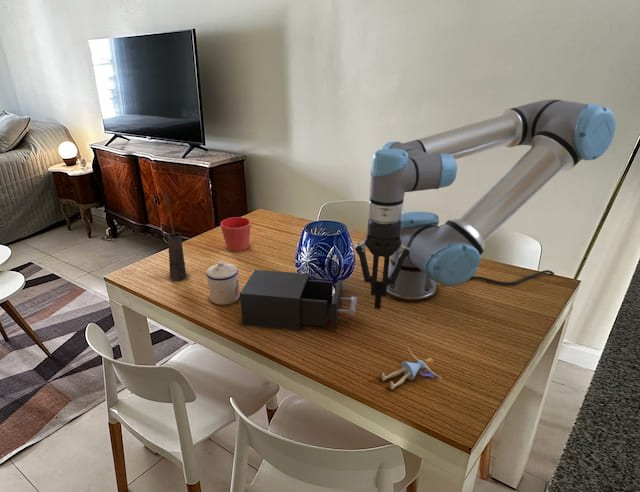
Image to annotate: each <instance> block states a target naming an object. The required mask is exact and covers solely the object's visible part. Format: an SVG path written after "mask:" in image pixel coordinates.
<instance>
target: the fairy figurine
mask: <svg viewBox="0 0 640 492" xmlns="http://www.w3.org/2000/svg"><path fill="white" fill-rule="evenodd" d="M407 351H408V352H409V354H410V355H411V356H412V357H413V358H414V359H415V361H416V362H411V361H405V360H403V361H401V362H400V369H398V370H395V371H393V372H390V373H389V374H388V375H385V372H382V373H381V380H382V382H384V381H387V380H388V379H390V378H394V377H397V376H399V375H401V373H403V374H404V375H403V376H401V378H400V379H399V380H398V381H397V382H396V383H394V382H393V381H390V382H389V388H390V390H394V389H395V388H397V387H398V386H401V385H402V384H403V383H404V382H405V381H406V379H408V380H410V381H412V380H414V379H415V377H416V375H417V373H418V372H419V373H420V374H421V376H423V377H431V378H435V377H437V378H438V379H440V380H443V377H442V376H441V375H438V374H436V372H434V371H433V370H431V368H430V366H432V365H433V363H434V360H433V358H432V357H428V358H425V359H420V358H417V356H416V355H414V354H413V352H412V351H411V349H410V348H409V347H407ZM422 370H424V372H423V371H422Z"/></svg>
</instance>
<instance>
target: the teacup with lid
mask: <svg viewBox="0 0 640 492" xmlns="http://www.w3.org/2000/svg"><path fill="white" fill-rule="evenodd" d="M238 274H239V269H238V267H237V266H236V265H234V264H232V263H227V262H225V261H223V260H219V261H218V262H217V263H216V264H213V265H211V266H209V267H208V268H207V270H206V273H205V276H206V277H207V284H208V291H209V298H210V301H211V302H212V303H214V304H215V305H220V306H221V305H222V306H224V305H231V304H234V303H235V302H237V301H238V300H240V287H239V286H240V285H239V275H238Z"/></svg>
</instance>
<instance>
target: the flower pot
mask: <svg viewBox="0 0 640 492" xmlns="http://www.w3.org/2000/svg"><path fill="white" fill-rule="evenodd" d="M251 224H252V222H251V220H250V219H249V218H248V217H242V216H233V217H229V218H225V219H223V220H222V221H220V228H221V231H222V235H223V238H224V242H225V245H226V248H227V250H228V251H231V252H243V251H246V250H247V249H248V248H249V243H250V234H251V226H252V225H251Z"/></svg>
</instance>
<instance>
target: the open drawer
mask: <svg viewBox="0 0 640 492" xmlns="http://www.w3.org/2000/svg"><path fill="white" fill-rule="evenodd" d="M333 290H334V281H331V280H322V279H321V280H319V279H310V278H309V279H308V280H307V283H306V285H305V288H304V291H303V293H302V296H301V298H300V324H302V325H309V326H317V327H327V326H328V322H329V319H330V327H331V328H330V330H332V331H337V327H338V322H339V318H340V314H341V313H342V314H343V313H344V314H349V316H354V315H355V314H356V309H357V305H358V297H357V296H352V297H343V280H342V279H337V282H336V287H335V290H334V291H333ZM343 301H346V302H350V304H349V308H348V309H343V308H342V306H343ZM330 315H331V317H330Z"/></svg>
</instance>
